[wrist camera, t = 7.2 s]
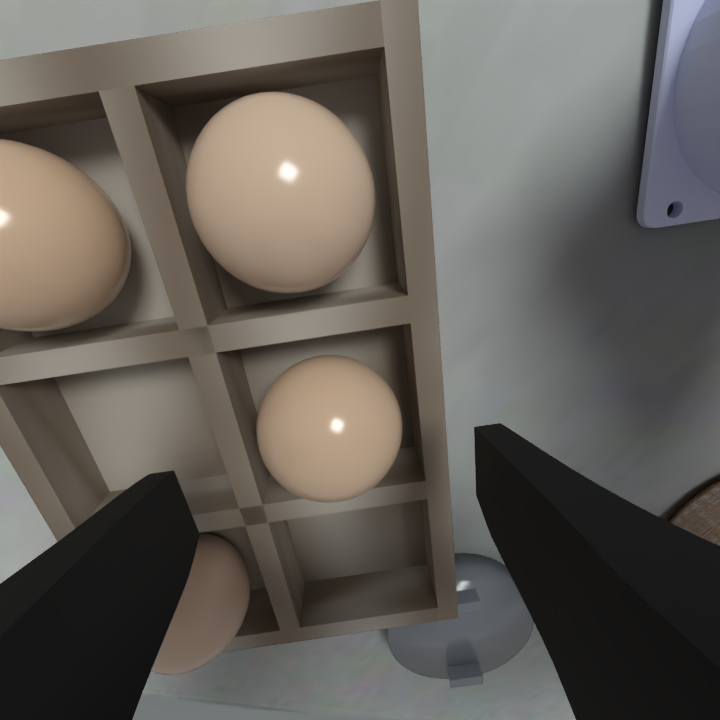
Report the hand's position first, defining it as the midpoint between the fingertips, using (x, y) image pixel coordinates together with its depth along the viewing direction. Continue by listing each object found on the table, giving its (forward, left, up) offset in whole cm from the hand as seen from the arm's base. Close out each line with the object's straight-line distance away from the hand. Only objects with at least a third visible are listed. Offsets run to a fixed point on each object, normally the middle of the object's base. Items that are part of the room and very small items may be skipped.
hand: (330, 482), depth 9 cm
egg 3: (0, -6, -5) cm, 8 cm away
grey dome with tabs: (-4, +14, -6) cm, 15 cm away
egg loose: (0, 0, -5) cm, 5 cm away
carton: (+3, 0, -6) cm, 7 cm away
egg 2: (+7, +6, -5) cm, 10 cm away
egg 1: (+7, -6, -5) cm, 10 cm away
